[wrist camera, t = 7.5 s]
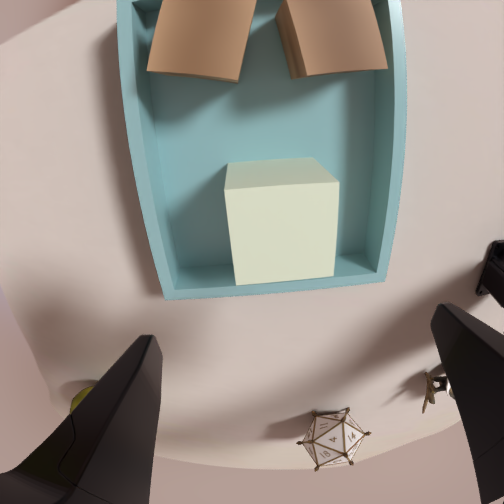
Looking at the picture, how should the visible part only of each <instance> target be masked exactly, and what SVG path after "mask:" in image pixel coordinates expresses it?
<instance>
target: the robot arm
mask: <svg viewBox="0 0 504 504" xmlns="http://www.w3.org/2000/svg"><path fill="white" fill-rule="evenodd" d="M489 293H490V294H491V295H492V296H493V298H494V299H495V300H496V301H497V302H498V304H499V305H500V306H501V307H503V308H504V240H499V241H495V242H494V243H493V245H492V249H491V252H490V255H489V258H488V261H487V263H486V266H485V269H484V272H483V274H482V277H481V280H480V282H479V285H478V287H477V290H476V294H477V295H478V296H482V295H486V294H489ZM431 330H432V333H433V336H434V339H435V342H436V345H437V349H438V352H439V355H440V359H441V362H442V365H443V368H444V371H445V373H446V376H447V379H448V381H449V384H450V387H451V389H452V392H453V395H454V398H455V401H456V404H457V407H458V410H459V413H460V416H461V419H462V422H463V426H464V429H465V432H466V436H467V439H468V443H469V447H470V451H471V455H472V459H473V464H474V468H475V472H476V477H477V482H478V487H479V493H480V499H481V504H489V503H491V502H493V501H495V500H497V499H499V498H501V497H503V496H504V335H503V334H501V333H499V332H498V331H496V330H495V329H493V328H491V327H490V326H488V325H487V324H485V323H483V322H482V321H480V320H479V319H477V318H475V317H474V316H472V315H470V314H469V313H467V312H465V311H464V310H462V309H460V308H459V307H457V306H455V305H454V304H452V303H450V302H444V303H440V304H439V305H438V306H437V308H436V310H435V313H434V315H433V318H432V320H431ZM503 333H504V332H503ZM162 362H163V357H162V352H161V350H160V347H159V345H158V342H157V340H156V338H155V336H154V335H140V336H139V337H138V338H137V339H136V340H135V341H134V343H133V344H132V345H131V346H130V347H129V348H128V349H127V350H126V351H125V352H124V353H123V355H122V356H121V357H120V358H119V359H118V360H117V361H116V362H115V363H114V364H113V366H112V367H111V368H110V369H109V370H108V371H107V372H106V373H105V374H104V376H103V377H102V378H101V379H100V380H99V381H98V382H97V383H96V384H95V386H94V387H93V388H92V389H91V390H90V391H89V392H88V393H87V395H86V396H85V397H84V398H83V399H82V400H81V401H80V403H79V404H78V405H77V406H76V407H75V408H74V409H73V411H72V412H71V414H69V415H68V416H67V417H66V418H65V420H64V421H63V422H62V423H61V424H60V425H59V426H58V427H57V428H56V430H55V431H54V432H53V433H52V434H51V435H50V436H49V437H48V438H47V439H46V440H45V441H44V442H43V443H42V444H41V445H40V446H39V447H37V448H36V449H35V450H34V451H33V452H32V453H31V454H30V455H29V456H28V457H27V458H26V459H25V460H24V461H22V463H21V464H19V465H18V466H17V467H15V468H14V469H12V470H10V471H8V472H5V473H1V474H0V504H149V496H150V485H151V475H152V465H153V457H154V448H155V441H156V433H157V426H158V419H159V412H160V404H161V382H162ZM503 504H504V502H503Z"/></svg>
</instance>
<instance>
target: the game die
mask: <svg viewBox="0 0 504 504" xmlns="http://www.w3.org/2000/svg"><path fill="white" fill-rule="evenodd" d="M349 411H350V409H349V408H347V409H346V412H345V413H338V414H328V415H317V413H316V412H314V411H312V415H313V416H315V418H314V420H313V422H312V424H311V426H310V428H309V430H308V432H307V434H306V436H305V438H304V440H303V441H302V442H301V441H298V442H297V443H296V444H298V445H301V444H303V445H304V447H305V448H306V450H307V451H308V453H309V454H310V456H311V457H312V459H313V460H314V462H315V463H316V464H317V466H316V467H315V468H314V469H315V471H317V470H318V469H319V467H320V466H326V465H333V464H339V463H345V462H349V464H350V465H353V463H354V462H353V461H351V459H352V458H353V456H354V454H355V452H356V451H357V449H358V447H359V445H360V443H361V442H362V440H363V438H364V436H365V435H370V434H371V432H369V431H368V432H366V433H364V432H363V431H362V430H361V428H360V427H359V426H358V425H357V424H356V423H355V421H354V420H353V419H352V418H351V417H350V416H349V414H348V412H349Z"/></svg>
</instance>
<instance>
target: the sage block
mask: <svg viewBox="0 0 504 504" xmlns="http://www.w3.org/2000/svg"><path fill="white" fill-rule="evenodd" d="M224 193H225V201H226V210H227V218H228V226H229V234H230V242H231V250H232V258H233V265H234V273H235V281H236V286H237V285H248V284H260V283H271V282H281V281H292V280H302V279H311V278H321V277H330V276H333V275H334V264H335V253H336V240H337V224H338V206H339V181H338V180H337V179H336V178H335V177H333V176H332V175H331V174H330V173H329V172H328V171H327V170H326V169H325V168H324V167H323V166H322V165H321V164H320V163H318V162H317V161H316V160H315V159H314V158H313V157H309V158H288V159H271V160H257V161H245V162H234V163H228V166H227V173H226V180H225V188H224Z"/></svg>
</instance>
